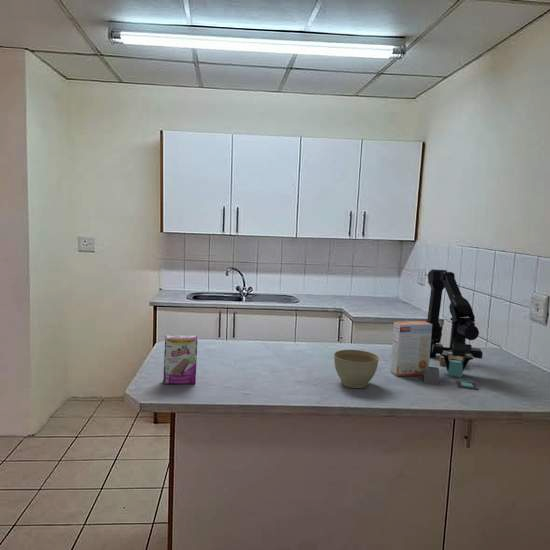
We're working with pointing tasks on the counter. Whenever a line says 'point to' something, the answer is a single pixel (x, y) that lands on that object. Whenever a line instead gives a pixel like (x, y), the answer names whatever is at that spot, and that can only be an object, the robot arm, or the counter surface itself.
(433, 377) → the charcoal cube
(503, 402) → the counter surface
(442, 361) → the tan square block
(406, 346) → the cracker box
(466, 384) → the tile
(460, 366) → the teal cube
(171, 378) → the candy bar box
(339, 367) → the planter bowl
